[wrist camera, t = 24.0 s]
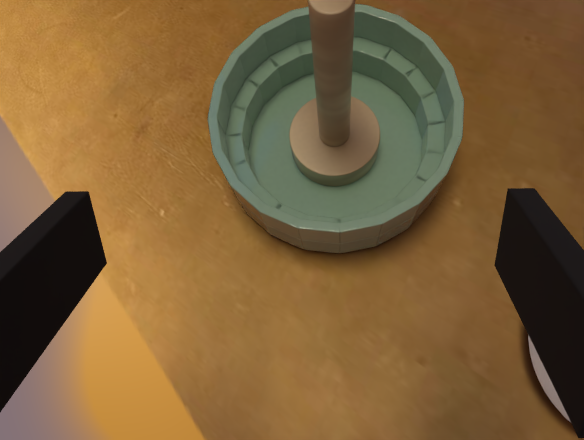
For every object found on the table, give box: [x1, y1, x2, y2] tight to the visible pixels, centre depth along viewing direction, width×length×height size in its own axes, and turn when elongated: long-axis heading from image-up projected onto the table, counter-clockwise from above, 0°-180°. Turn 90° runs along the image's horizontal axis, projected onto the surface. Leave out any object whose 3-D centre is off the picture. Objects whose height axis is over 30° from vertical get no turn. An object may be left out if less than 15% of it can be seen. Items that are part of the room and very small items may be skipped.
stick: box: [289, 0, 380, 186], centre depth 29 cm, size 6×6×15 cm
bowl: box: [208, 4, 464, 253], centre depth 34 cm, size 15×15×6 cm
